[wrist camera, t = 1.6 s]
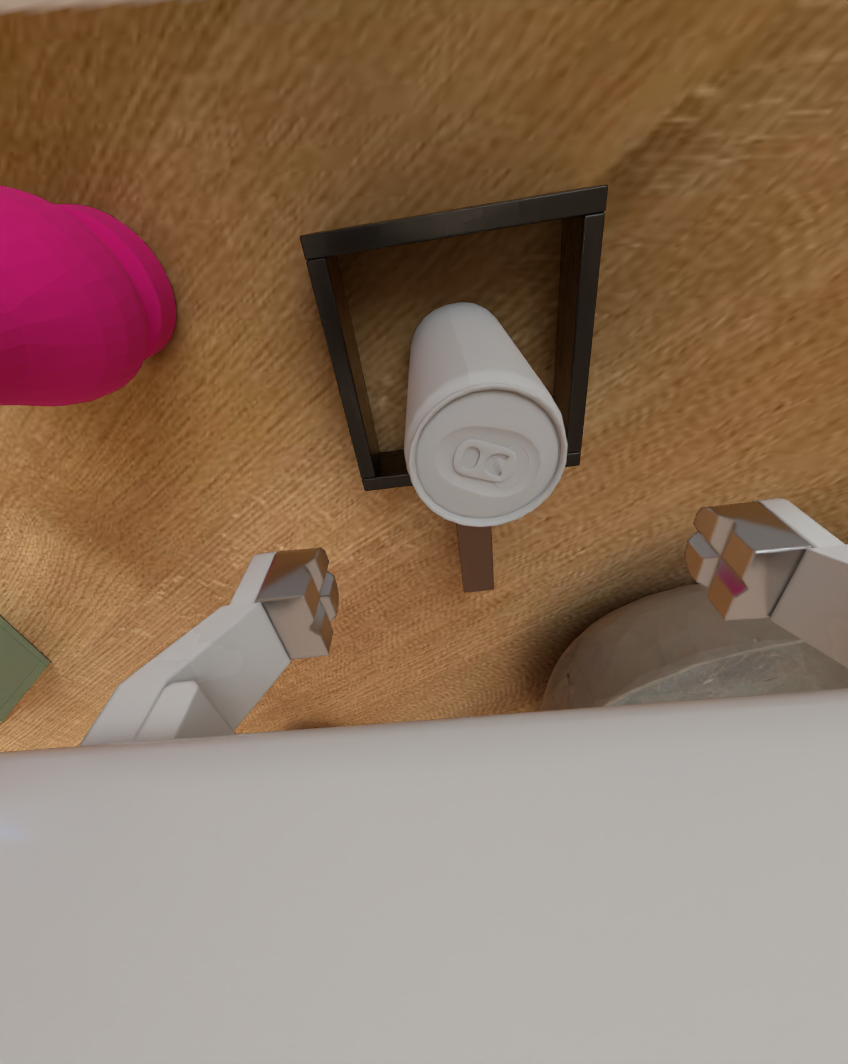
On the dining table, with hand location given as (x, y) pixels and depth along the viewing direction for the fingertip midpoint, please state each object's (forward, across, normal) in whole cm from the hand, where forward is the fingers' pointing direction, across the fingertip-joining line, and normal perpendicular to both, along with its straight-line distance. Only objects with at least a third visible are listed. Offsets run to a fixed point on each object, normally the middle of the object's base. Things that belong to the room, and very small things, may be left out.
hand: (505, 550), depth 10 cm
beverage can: (+16, 0, 0) cm, 16 cm away
